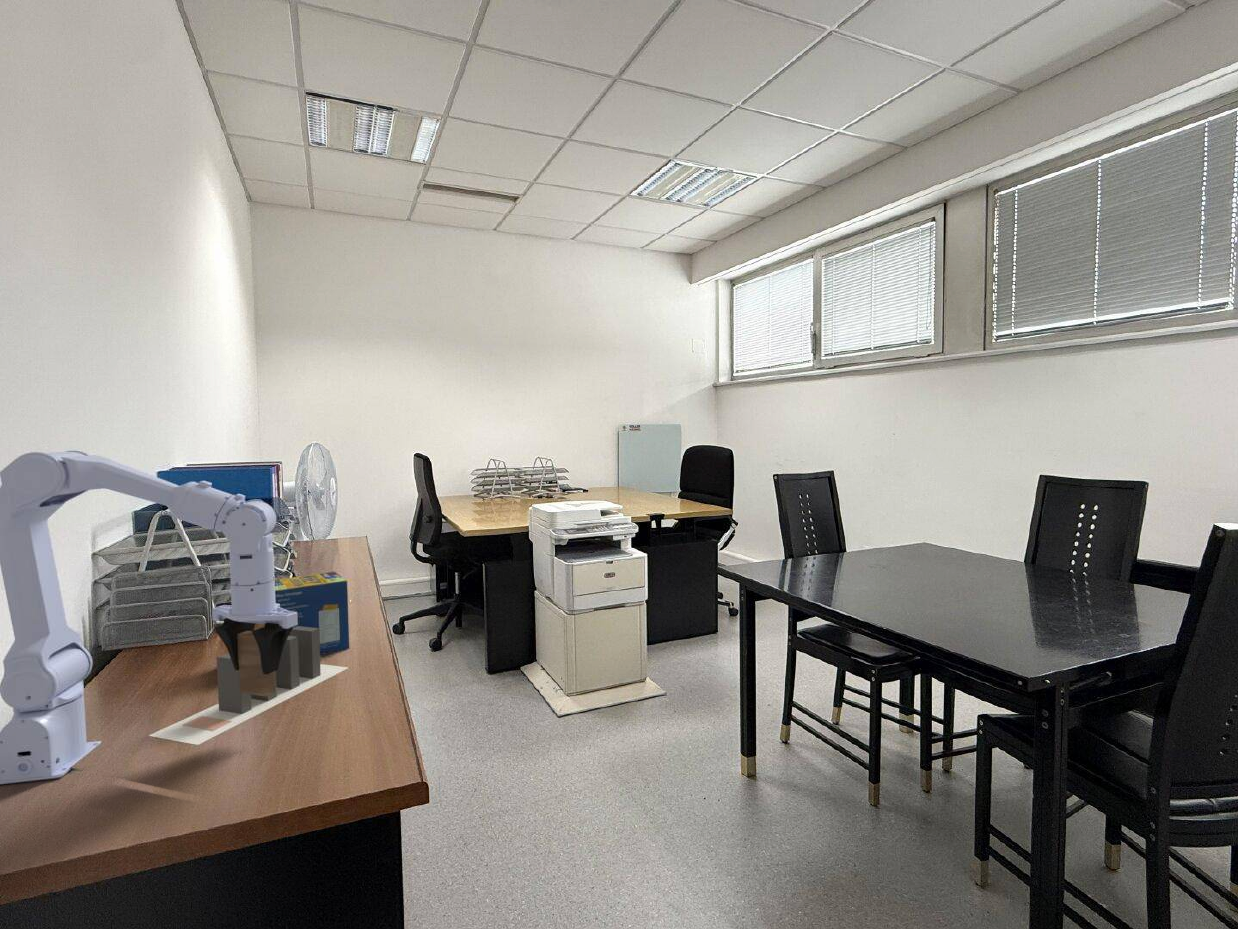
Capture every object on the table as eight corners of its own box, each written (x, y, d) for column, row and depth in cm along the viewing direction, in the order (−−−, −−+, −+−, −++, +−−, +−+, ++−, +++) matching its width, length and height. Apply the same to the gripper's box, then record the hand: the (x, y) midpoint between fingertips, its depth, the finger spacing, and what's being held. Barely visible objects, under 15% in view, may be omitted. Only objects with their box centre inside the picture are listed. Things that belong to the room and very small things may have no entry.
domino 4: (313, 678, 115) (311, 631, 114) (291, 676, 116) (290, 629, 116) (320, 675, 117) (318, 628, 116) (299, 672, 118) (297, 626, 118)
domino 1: (242, 714, 101) (239, 660, 100) (218, 710, 102) (216, 657, 102) (251, 709, 102) (249, 656, 102) (228, 705, 104) (226, 653, 103)
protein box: (260, 654, 130) (257, 581, 129) (338, 639, 139) (336, 571, 139) (268, 669, 122) (265, 591, 121) (350, 651, 131) (348, 579, 130)
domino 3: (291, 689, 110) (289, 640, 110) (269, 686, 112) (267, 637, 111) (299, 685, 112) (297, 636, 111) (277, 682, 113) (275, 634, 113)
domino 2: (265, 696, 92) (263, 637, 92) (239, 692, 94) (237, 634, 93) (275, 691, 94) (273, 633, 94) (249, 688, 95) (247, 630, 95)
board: (198, 749, 91) (197, 744, 91) (148, 739, 94) (148, 735, 94) (349, 670, 120) (348, 667, 120) (307, 665, 123) (307, 662, 123)
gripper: (312, 578, 95) (315, 665, 95) (239, 572, 99) (243, 656, 100) (273, 589, 88) (277, 683, 89) (197, 583, 92) (201, 672, 93)
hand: (256, 670), depth 94 cm, fingers closed on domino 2, 5 cm apart
